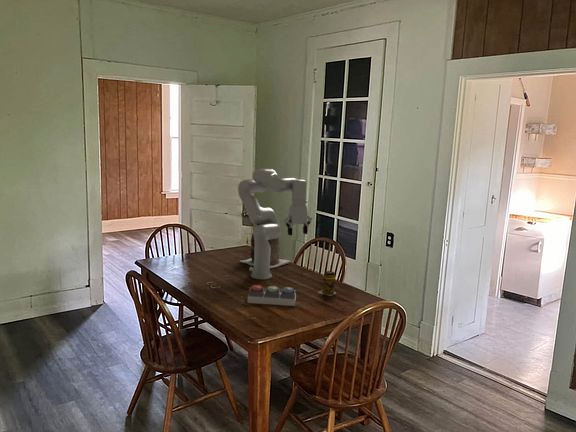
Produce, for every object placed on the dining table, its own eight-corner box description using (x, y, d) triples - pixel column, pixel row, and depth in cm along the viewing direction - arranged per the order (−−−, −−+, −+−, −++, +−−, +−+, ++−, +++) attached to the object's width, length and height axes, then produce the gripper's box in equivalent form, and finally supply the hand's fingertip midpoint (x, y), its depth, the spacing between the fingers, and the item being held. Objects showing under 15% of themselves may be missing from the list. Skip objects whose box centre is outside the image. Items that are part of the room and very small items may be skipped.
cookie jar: (263, 256, 329) (265, 210, 323) (291, 263, 314) (293, 216, 308) (238, 262, 310) (239, 214, 304) (266, 271, 295) (268, 220, 289)
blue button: (282, 293, 240) (283, 290, 240) (283, 290, 245) (283, 286, 245) (293, 294, 240) (293, 290, 239) (293, 291, 245) (293, 287, 245)
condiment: (331, 296, 255) (332, 274, 253) (317, 293, 259) (318, 271, 257) (336, 292, 261) (338, 271, 259) (322, 289, 266) (324, 268, 263)
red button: (251, 291, 240) (251, 288, 240) (252, 288, 246) (252, 284, 245) (261, 292, 240) (261, 288, 240) (262, 289, 245) (262, 285, 245)
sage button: (266, 292, 240) (267, 289, 240) (267, 289, 245) (267, 285, 245) (277, 293, 240) (277, 289, 240) (277, 290, 245) (278, 286, 245)
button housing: (247, 302, 239) (247, 292, 238) (249, 296, 249) (250, 286, 248) (295, 305, 238) (295, 295, 237) (295, 299, 248) (296, 288, 247)
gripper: (308, 201, 261) (306, 231, 264) (281, 202, 252) (280, 234, 255) (316, 202, 255) (314, 234, 258) (288, 204, 246) (287, 236, 249)
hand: (297, 234), depth 256 cm, fingers open, 9 cm apart
